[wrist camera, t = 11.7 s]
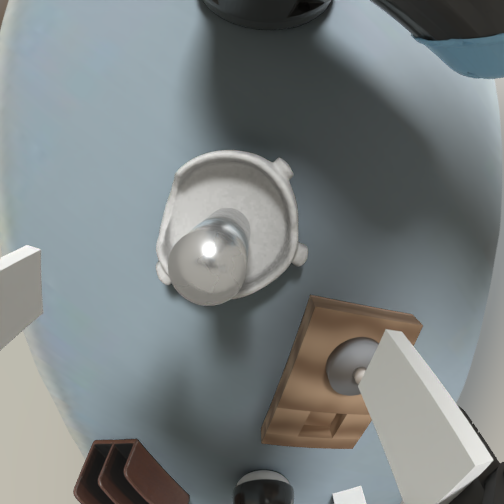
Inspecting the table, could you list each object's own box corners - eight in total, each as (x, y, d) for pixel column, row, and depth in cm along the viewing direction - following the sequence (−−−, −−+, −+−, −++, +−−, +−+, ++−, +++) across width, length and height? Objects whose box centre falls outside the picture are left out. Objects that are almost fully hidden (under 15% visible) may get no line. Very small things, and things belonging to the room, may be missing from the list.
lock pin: (210, 202, 26) (175, 221, 15) (255, 214, 26) (254, 241, 15) (199, 247, 27) (162, 294, 16) (244, 258, 27) (234, 314, 16)
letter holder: (149, 495, 47) (136, 546, 33) (93, 438, 42) (66, 496, 28) (190, 494, 46) (182, 551, 32) (137, 437, 41) (114, 504, 27)
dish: (168, 283, 34) (155, 301, 29) (161, 154, 30) (145, 152, 25) (300, 283, 34) (308, 303, 29) (304, 152, 30) (314, 150, 25)
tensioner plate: (310, 294, 34) (321, 321, 28) (412, 314, 35) (435, 338, 29) (261, 428, 39) (262, 460, 33) (348, 435, 40) (357, 464, 34)
